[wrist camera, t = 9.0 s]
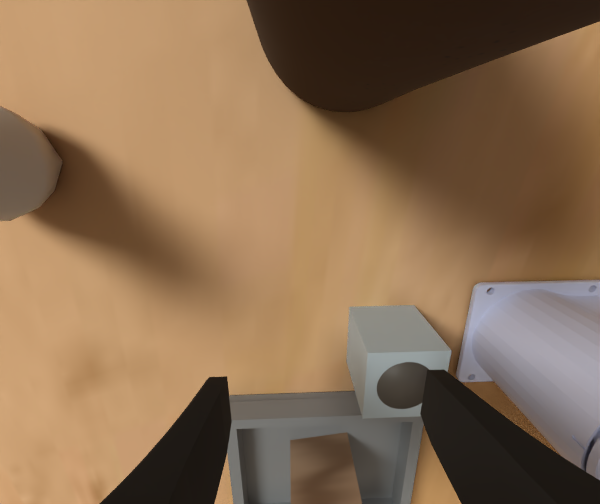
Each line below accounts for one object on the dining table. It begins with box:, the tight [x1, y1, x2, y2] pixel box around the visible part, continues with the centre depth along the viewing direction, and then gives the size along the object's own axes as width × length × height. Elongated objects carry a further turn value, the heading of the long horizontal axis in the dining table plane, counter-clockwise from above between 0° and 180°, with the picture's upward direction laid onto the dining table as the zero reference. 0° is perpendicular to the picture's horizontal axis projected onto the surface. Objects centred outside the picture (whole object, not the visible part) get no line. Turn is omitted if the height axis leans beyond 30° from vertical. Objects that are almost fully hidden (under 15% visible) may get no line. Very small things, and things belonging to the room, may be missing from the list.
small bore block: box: [290, 432, 362, 504], centre depth 21 cm, size 4×4×5 cm
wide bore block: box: [347, 305, 452, 419], centre depth 19 cm, size 4×4×5 cm
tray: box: [227, 391, 424, 504], centre depth 23 cm, size 14×12×2 cm
